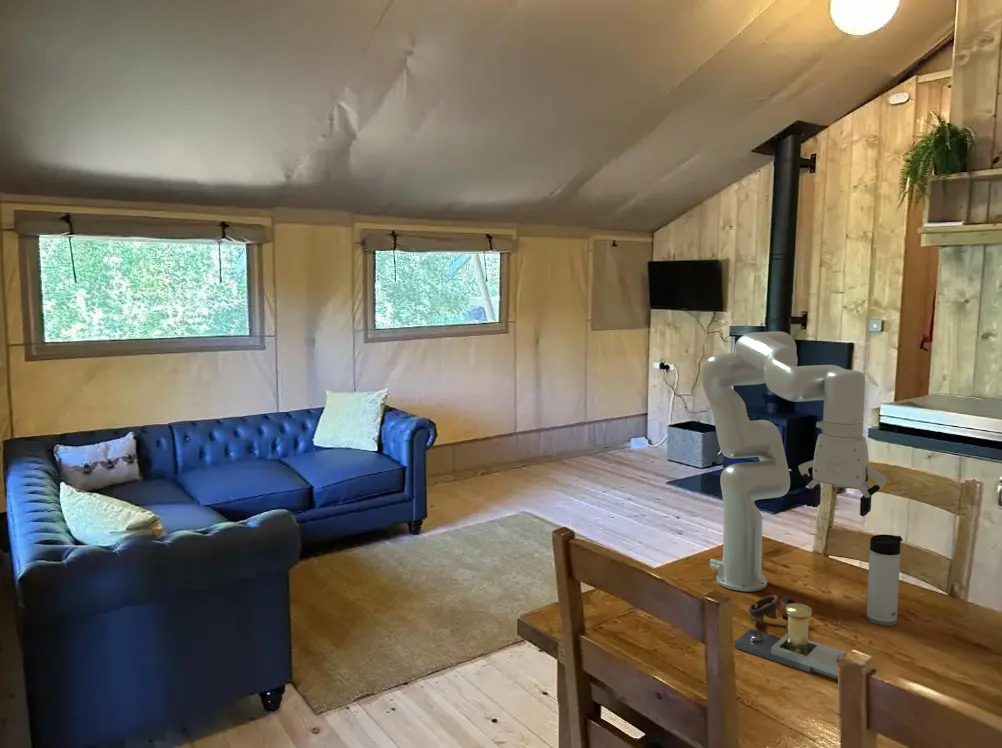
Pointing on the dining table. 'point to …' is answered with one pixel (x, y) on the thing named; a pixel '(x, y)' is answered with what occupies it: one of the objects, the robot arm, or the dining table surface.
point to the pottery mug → (770, 608)
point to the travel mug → (883, 579)
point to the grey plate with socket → (791, 653)
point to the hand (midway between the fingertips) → (839, 510)
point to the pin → (798, 627)
